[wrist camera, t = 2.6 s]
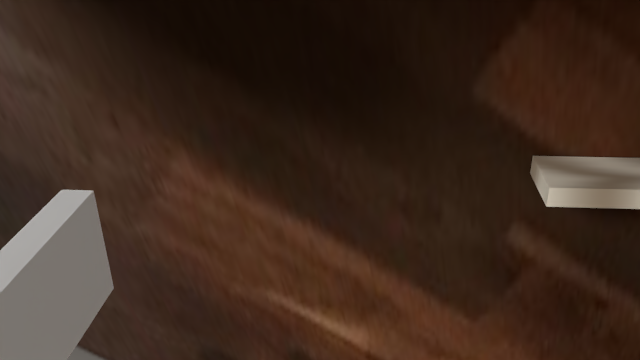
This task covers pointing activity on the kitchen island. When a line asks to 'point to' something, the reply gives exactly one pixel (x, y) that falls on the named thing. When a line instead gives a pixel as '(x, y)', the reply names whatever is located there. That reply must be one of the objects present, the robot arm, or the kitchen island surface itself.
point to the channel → (587, 181)
